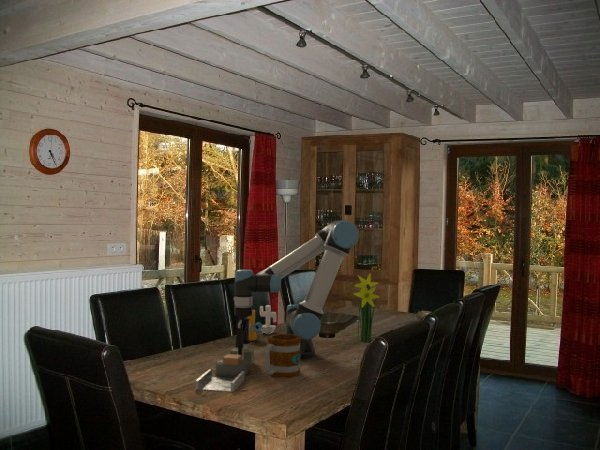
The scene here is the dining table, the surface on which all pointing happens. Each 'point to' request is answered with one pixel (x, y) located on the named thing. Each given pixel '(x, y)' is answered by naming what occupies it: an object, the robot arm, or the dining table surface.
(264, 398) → the dining table surface
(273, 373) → the mug
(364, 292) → the daffodil flowers
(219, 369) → the grey block tan top
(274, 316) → the figurine
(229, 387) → the bracket
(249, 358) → the olive green block
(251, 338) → the orange knobbed block
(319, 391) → the dining table surface
